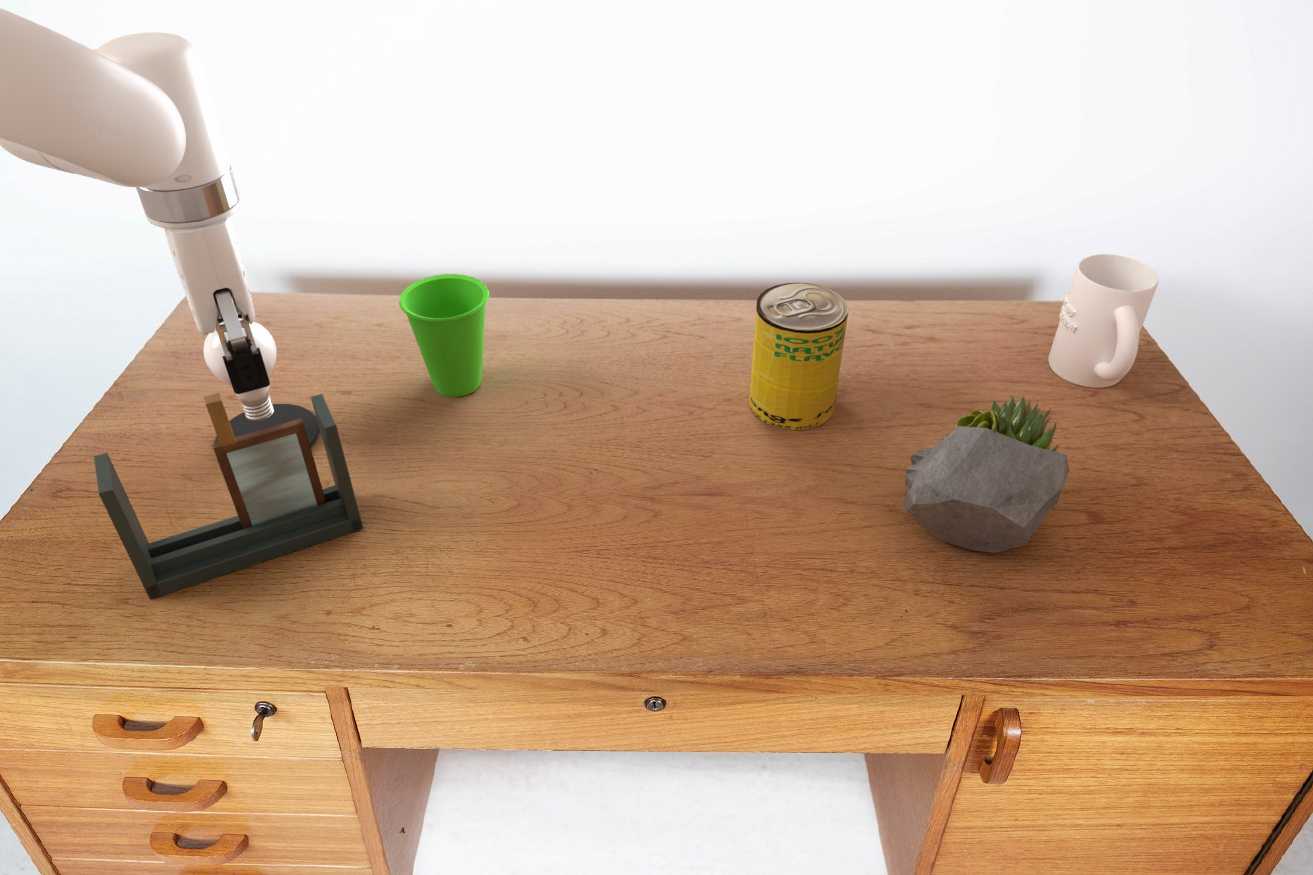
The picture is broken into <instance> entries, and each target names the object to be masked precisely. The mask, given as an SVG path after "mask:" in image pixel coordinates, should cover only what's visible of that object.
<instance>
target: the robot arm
mask: <svg viewBox="0 0 1313 875" xmlns="http://www.w3.org/2000/svg"><path fill="white" fill-rule="evenodd" d="M203 67H204V66H203V64H202V62H201V58H200V55H199V53H198V51H197V49H196V47H195V46H194V45H193V44H192V43H191V42H190V41H189V40H188V39H187V38H185V37H182V36H180V35H177V34H174V33H168V32H155V31H153V32H139V33H132V34H127V35H123V36H118V37H116V38H113V39H111V40H109V41H106V42H104V43H103V44H101V45H100V46H99V47H98V48H96V49H92V48H90V47H89V46H87V45H84V44H82V43H80V42H78V41H77V40H75V39H72V38H70V37H68V36H66V35H63V34H62V33H59V32H57V31H55V30H52V29H50V28H48V27H46V26H43V25H41V24H39V23H37V22H35V21H32V20H29V19H27V18H25V17H23V16H20V15H18V14H16V13H14V12H11V11H9V10H7V9H4V8H2V7H0V147H1V148H2V149H4V150H5V151H7V152H8V153H9V154H11V155H13V156H14V157H17V158H18V159H20V160H23V161H25V162H28V163H30V164H34V165H35V166H40V167H44V168H48V169H52V170H55V171H59V172H65V173H69V174H73V175H78V176H81V177H87V178H91V179H94V180H97V181H98V180H99V181H102V182H105V183H109V184H112V185H117V186H120V187H126V188H135V189H136V192H137V194H138V197H139V200H140V203H141V206H142V209H143V211H144V215H145V217H146V220H147V221H148V223H150V224H152V225H153V226H155V227H158V228H162V229H163V230H164V233H165V237H166V241H167V244H168V247H169V248H168V249H169V250H170V254H171V257H172V260H173V263H174V265H175V268H176V271H177V274H178V278H179V280H180V283H181V285H182V288H183V291H184V294H185V297H186V300H187V303H188V307H189V308H190V312H191V315H192V318H193V320H194V322H195V325H196V329H197V331H198V333H199V334H201V335H203V336H207V335H208V334H209V333H213V332H215V327H216V332H217V333H218V336H219V339H220V342H221V345H222V348H223V351H224V354H225V356H222V357H223V360H224V363H225V366H226V369H227V372H228V375H229V378H230V381H231V384H232V387H233V390H234V392H233V393H234V395H235V394H242V393H245V392H249V391H253V390H257V389H261V388H264V387H268V386H269V385H270V384H271V381H270V377H269V378H268V375H267V371H266V368H265V365H264V361H263V358H262V355H261V351H260V349H259V347H258V348H257V347H256V344H255V341H254V338H253V335H252V332H251V328H250V325H249V322H250V324H252V323H253V322H254V321H255V320H256V314H255V309H254V305H253V299H252V295H251V294H252V293H251V290H250V286H249V282H248V276H247V272H246V269H245V265H244V261H243V257H242V253H241V251H240V246H239V243H238V240H237V235H236V231H235V228H234V226H233V221H232V218H231V216H233V215H234V214H235V213H237V211H238V210H239V209H240V207H241V205H242V201H241V197H240V193H239V191H238V190H239V189H238V186H237V183H236V180H235V176H234V173H233V169H232V166H231V162H230V159H229V155H228V151H227V148H226V145H225V144H226V143H225V141H224V136H223V133H222V131H221V130H222V129H221V126H220V123H219V120H218V116H217V113H216V110H215V106H214V102H213V99H212V95H211V92H210V89H209V85H208V82H207V78H206V74H205V71H204V68H203ZM239 318H242V319H243V320H239ZM223 321H224V324H223V325H219V323H221V322H223ZM242 328H244V331H245V334H246V337H245V336H244V333H243V330H242ZM224 332H227V333H228V336H229V339H230V340H229V341H228V343H227V341H226V338H225V334H224ZM270 386H271V385H270ZM270 386H269V387H270ZM233 390H232V391H233Z"/></svg>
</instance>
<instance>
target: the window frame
mask: <svg viewBox="0 0 1313 875" xmlns="http://www.w3.org/2000/svg"><path fill="white" fill-rule="evenodd" d="M310 399H311V403H312V406H313V407H312V408H313V410H314V413H315V414H314V415H315V416H316V418H317V422H318V425H319V429H320V432H319V433H320V436H321V439H322V443H323V447H324V450H325V453H326V458H327V461H328V465H329V468H330V471H331V472H330V473H331V476H332V479H333V483H334V485H332V486H328V487H325V488H322V489H323V492H324V496H325V499H326V503H325V504H321V505H318V506H315V507H312V508H309V509H306V510H303V511H299V512H296V513H293V514H290V515H287V516H284V517H280V518H277V519H274V520H271V521H268V522H265V523H262V524H258V525H255V526H252V527H249V528H246V529H243V528H242V525H241V522H240V520H239V517H238V515H235V516H232V517H229V518H226V519H221V520H219V521H216V522H212V523H210V524H206V525H204V526H200V527H197V528H194V529H191V530H187V531H184V532H181V533H178V534H174V535H171V536H168V537H165V538H162V539H158V540H155V541H152V542H149V540H148V538H147V536H146V533H145V531H144V529H143V527H142V525H141V522H140V520H139V518H138V516H137V514H136V512H135V510H134V508H133V506H132V503H131V501H130V498H129V496H128V495H127V492H126V490H125V488H124V486H123V484H122V481H121V479H120V477H119V475H118V473H117V470H116V469H115V466H114V465H113V462H112V460H111V458H110V456H109V453H108V452H105V453H101V454H97V455H94V456H93V461H94V469H95V477H96V478H95V479H96V484H97V492H98V496H99V497H100V501H101V502H102V505H103V506H104V508H105V510H106V512H107V514H108V516H109V519H110V520H111V522H112V524H113V527H114V529H115V531H116V533H117V535H118V537H119V539H120V541H121V543H122V545H123V547H124V549H125V552H126V553H127V555H128V557H129V560H130V561H131V563H132V565H133V567H134V569H135V570H134V571H135V573H137V576H138V578H139V580H140V582H141V584H142V587H143V588H144V590H145V592H146V594H147V597H148V599H149V600H154V599H156V598H160V597H162V596H164V595H168V594H171V593H174V592H176V591H180V590H182V589H186V588H188V587H192V586H195V585H197V584H200V583H203V582H207V581H210V580H213V579H215V578H218V577H222V576H225V575H228V574H231V573H233V572H236V571H239V570H240V571H241V570H243V569H245V568H249V567H251V566H255V565H258V564H261V563H263V562H267V561H270V560H273V559H276V558H279V557H282V556H285V555H288V554H291V553H294V552H296V551H300V550H303V549H306V548H310V547H312V546H315V545H318V544H321V543H324V542H327V541H330V540H334V539H336V538H339V537H342V536H345V535H348V534H351V533H354V532H358V531H360V530H363V529H364V526H363V521H362V518H361V515H360V510H359V506H358V502H357V498H356V496H355V491H354V486H353V484H352V479H351V476H350V472H349V468H348V465H347V459H346V456H345V453H344V452H345V451H344V449H343V445H342V441H341V437H340V434H339V429H338V426H337V423H336V422H335V419H334V417H333V414H332V412H331V409H330V408H329V405H328V403H327V401H326V399H325V397H324V394H323V393H319V394H317V395H312V396H310Z"/></svg>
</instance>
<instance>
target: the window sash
mask: <svg viewBox="0 0 1313 875" xmlns="http://www.w3.org/2000/svg"><path fill="white" fill-rule="evenodd" d="M203 400H204V403H205V407H206V409H207V412H208V415H209V417H210V421H211V423H212V426H213V429H214V431H215V434H216V436H217V437H218V440H219V442H216V443H215V442H213V443H212V444H211V446H212V449H213V452H214V455H215V457H216V460H217V463H218V465H219V468H220V472H221V474H222V476H223V479H224V482H225V484H226V487H227V489H228V492H229V495H230V498H231V500H232V503H233V506H234V509H235V511H236V515H237V516H238V517H239V520H240V522H241V525H242V528H243V529H246V528H249V527H252V526H255V525H258V524H262V523H265V522H268V521H271V520H274V519H277V518H280V517H284V516H287V515H290V514H293V513H296V512H299V511H303V510H306V509H309V508H312V507H315V506H318V505H321V504H325V503H326V499H325V496H324V492H323V489H324V488H323V486H322V482H321V479H320V475H319V472H318V468H317V465H316V462H315V458H314V455H313V450H312V447H310V444H309V440H308V437H307V433H306V430H305V426H304V423H303V420H302V419H298V420H294V421H291V422H287V423H284V424H280V425H277V426H273V427H270V428H266V429H263V430H259V431H256V432H252V433H248V434H245V435H241V436H238V437H235V436H234V433H233V430H232V428H231V425H230V422H229V421H230V419H229V417H228V414H227V410H226V407H225V405H224V402H223V399H222V396H221V393H219V392H216V393H213V394H208V395H205V396H203Z"/></svg>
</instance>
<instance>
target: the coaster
mask: <svg viewBox="0 0 1313 875" xmlns="http://www.w3.org/2000/svg"><path fill="white" fill-rule="evenodd" d="M272 405H273V409H274V412H273V414H272V415H271V416H270V417H269V418H267V419H265V420H261V421H251V420H249V419H247V418H246V416H245V413H244V411H243V412H241V413H239V414H237V415H235V416H234V417H232V418H231V419H229V422H230V425H231V428H232V430H233V433H234V436H235V437H238V436H241V435H245V434H248V433H252V432H256V431H259V430H263V429H266V428H270V427H273V426H277V425H280V424H284V423H287V422H291V421H294V420H298V419H302V420H303V423H304V426H305V430H306V433H307V437H308V440H309V444H310V447H311V448H312V447H313V446H314V445H315V444H316V442H317V440H318V438H319V436H320V433H321V432H320V429H319V425H318V422H317V418H316V414H314V412H312V411H311V410H310V409H307V408H306V407H304V406H301V405H297V404H292V403H272ZM216 442H219V440H218V437H217V435H216V436H215V439H214V443H216Z"/></svg>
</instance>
